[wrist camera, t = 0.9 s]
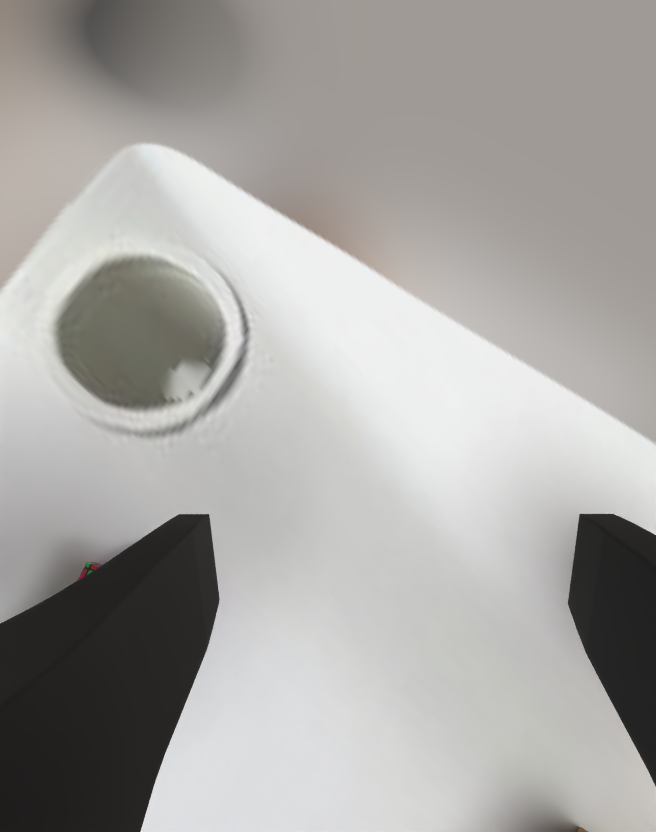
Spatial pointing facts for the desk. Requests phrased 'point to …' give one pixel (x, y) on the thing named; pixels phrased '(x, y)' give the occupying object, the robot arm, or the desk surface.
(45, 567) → the desk surface
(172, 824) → the desk surface
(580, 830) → the carton
